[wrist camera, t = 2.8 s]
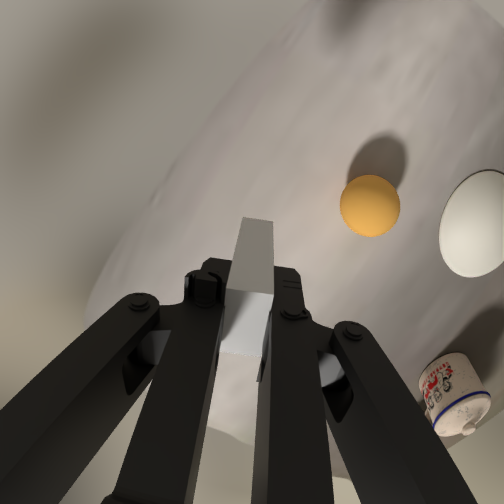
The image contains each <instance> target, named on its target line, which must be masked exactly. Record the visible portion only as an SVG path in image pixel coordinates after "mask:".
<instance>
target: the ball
mask: <svg viewBox="0 0 504 504" xmlns="http://www.w3.org/2000/svg"><path fill="white" fill-rule="evenodd" d="M340 211H341V215H342V217H343V220H344V222H345V223H346V224H347V226H348V227H349V228H350V229H351V230H353V231H354V232H356V233H357V234H360V235H362V236H367V237H374V236H379V235H382V234H384V233H386V232H387V231H389V230H390V229H391V228H392V227H393V226H394V224H395V223H396V221H397V219H398V216H399V213H400V200H399V196H398V194H397V192H396V190H395V188H394V187H393V186H392V185H391V184H390V183H389V182H388V181H387V180H385V179H384V178H381V177H379V176H376V175H363V176H359V177H357V178H355V179H353V180H352V181H351V182H350V183H349V184H348V185H347V186H346V187H345V189H344V190H343V193H342V195H341V199H340Z"/></svg>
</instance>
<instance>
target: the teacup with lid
mask: <svg viewBox="0 0 504 504" xmlns="http://www.w3.org/2000/svg"><path fill="white" fill-rule="evenodd" d="M419 388H420V390H421V393H422V395H423V398H424V401H425V403H426V406H427V409H426V411H425V416H426V417H427V419H428V420H429V422H430V424H431V419H432V422H433V428H434V430H435V432H436V433H437V434H438V435H440V436H452V435H456V434H459V433H463V435H469V434H471V433H472V432H474V431H475V429H476V424H477V422H478V421H480V420H481V419H482V418H483V417H484V415H485V414H486V413H487V411H488V410H489V408H490V405H491V396H490V394H489V393H488V392H486V390H485V388H484V386H483V385H482V383H481V381H480V379H479V377H478V375H477V374H476V372H475V370H474V368H473V367H472V365H471V363H470V361H469V360H468V358H467V357H466V356H465V355H464V354H462V353H450V354H447V355H444V356H442V357H440V358H438V359H437V360H435V361H434V362H432V363H431V364H430V365H429V366H428V367H427V368H426V369H425V370H424V372H423V373H422V375H421V377H420V380H419Z"/></svg>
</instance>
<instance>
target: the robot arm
mask: <svg viewBox="0 0 504 504" xmlns="http://www.w3.org/2000/svg"><path fill="white" fill-rule="evenodd" d="M219 351H220V352H226V353H233V354H240V355H247V356H255V357H261V354H262V359H261V363H260V368H259V372H258V377H257V381H256V382H259V386H258V403H257V420H256V436H255V452H254V466H253V481H252V496H251V504H334V494H333V483H332V472H331V462H330V452H329V443H328V434H327V425H326V420H327V422H328V425H329V427H330V430H331V432H332V434H333V437H334V439H335V442H336V444H337V446H338V449H339V451H340V454H341V456H342V458H343V461H344V463H345V466H346V468H347V470H348V473H349V475H350V478H351V480H352V483H353V485H354V487H355V490H356V492H357V495H358V497H359V499H360V502H361V504H478V503H477V502H476V500H475V498H474V496H473V494H472V492H471V491H470V489H469V487H468V485H467V484H466V482H465V480H464V479H463V477H462V475H461V473H460V472H459V470H458V468H457V466H456V465H455V463H454V461H453V460H452V458H451V456H450V455H449V453H448V451H447V450H446V448H445V446H444V445H443V443H442V441H441V440H440V438H439V436H438V435H437V433H436V432H435V430H434V428H433V427H432V425H431V424H430V422H429V420H428V419H427V417H426V416H425V414H424V412H423V411H422V409H421V408H420V406H419V405H418V403H417V401H416V400H415V398H414V397H413V395H412V394H411V392H410V391H409V389H408V388H407V386H406V384H405V383H404V381H403V380H402V378H401V377H400V375H399V374H398V372H397V371H396V369H395V368H394V366H393V365H392V363H391V362H390V360H389V359H388V357H387V356H386V354H385V353H384V351H383V350H382V348H381V347H380V346H379V344H378V343H377V341H376V340H375V338H374V337H373V335H372V334H371V332H370V331H369V330H368V329H367V328H366V327H364V326H363V325H361V324H359V323H356V322H353V321H342V322H339V323H337V324H336V325H335V327H334V329H331V328H328V327H325V326H322V325H320V324H317V323H316V322H314V321H313V320H312V316H311V314H310V312H309V311H308V310H307V309H306V308H305V305H304V298H303V291H302V284H301V277H300V275H299V274H298V272H297V271H296V270H295V269H293V268H286V267H279V266H274V249H273V221H266V220H259V219H252V218H246V217H243V218H242V223H241V227H240V231H239V235H238V239H237V243H236V248H235V252H234V256H233V260H232V261H231V260H224V259H217V258H211V257H210V258H209V259H208V260H206V261H205V262H203V264H202V267H201V269H200V270H194V271H191V272H189V273H188V274H187V275H186V276H185V284H184V300H183V302H182V303H179V304H175V305H159V301H158V300H157V298H156V297H154V296H152V295H150V294H147V293H133V294H129V295H127V296H125V297H123V298H122V299H121V300H120V301H118V302H117V303H116V304H115V305H114V306H113V307H112V308H110V309H109V310H108V311H107V312H106V313H105V314H104V315H102V316H101V317H100V318H99V319H98V320H97V321H96V322H94V323H93V324H92V325H91V326H90V327H89V328H88V329H87V330H85V331H84V332H83V333H82V334H81V335H80V336H79V337H78V338H76V339H75V340H74V341H73V342H72V343H71V344H70V345H69V346H68V347H67V348H65V349H64V350H63V351H62V352H61V353H60V354H59V355H58V356H57V357H56V358H55V359H54V360H52V361H51V362H50V363H49V364H48V365H47V366H46V367H45V368H44V369H43V370H42V371H41V372H40V373H39V374H37V375H36V376H35V377H34V378H33V379H32V380H31V381H30V382H29V383H28V384H27V385H26V386H25V387H24V388H23V389H22V390H21V391H20V392H19V393H18V394H17V395H15V397H13V398H12V399H11V400H10V401H9V402H8V403H7V404H6V405H5V406H4V407H3V409H1V410H0V504H58V503H59V502H60V501H61V500H62V498H63V497H64V496H65V494H66V493H67V492H68V490H69V489H70V488H71V486H72V485H73V484H74V482H75V481H76V480H77V478H78V477H79V476H80V474H81V473H82V471H83V470H84V469H85V468H86V466H87V465H88V464H89V462H90V461H91V460H92V458H93V457H94V456H95V454H96V453H97V452H98V450H99V449H100V447H101V446H102V445H103V444H104V442H105V441H106V440H107V439H108V437H109V436H110V435H111V433H112V432H113V431H114V429H115V428H116V427H117V425H118V424H119V423H120V421H121V420H122V419H123V417H124V416H125V415H126V413H127V412H128V411H129V409H130V408H131V407H132V405H133V404H134V403H135V401H136V400H137V399H138V398H139V396H140V395H141V394H142V392H143V391H144V390H145V388H146V387H147V386H148V384H149V383H150V382H151V380H152V379H153V380H152V382H151V385H150V388H149V390H148V393H147V396H146V399H145V401H144V404H143V407H142V410H141V413H140V415H139V418H138V421H137V424H136V427H135V430H134V432H133V435H132V438H131V441H130V444H129V447H128V450H127V453H126V456H125V459H124V462H123V465H122V468H121V471H120V474H119V477H118V480H117V483H116V486H115V488H114V491H113V492H112V494H110V495H108V496H106V497H105V498H104V499H103V501H102V503H101V504H193V499H194V493H195V487H196V482H197V476H198V470H199V465H200V459H201V453H202V448H203V442H204V437H205V431H206V425H207V420H208V415H209V409H210V404H211V398H212V393H213V387H214V382H215V377H216V371H217V366H218V359H219Z"/></svg>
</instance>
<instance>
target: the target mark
mask: <svg viewBox="0 0 504 504" xmlns="http://www.w3.org/2000/svg"><path fill="white" fill-rule="evenodd" d="M439 245H440V251H441V254H442V257H443V259H444V261H445V262H446V264H447V265H448V267H449V268H450V269H451V270H452V271H454V272H455V273H457V274H459V275H461V276H465V277H478V276H482V275H485V274H487V273H489V272H491V271H492V270H494V269H495V268H497V267H498V266H499V265H500V264H501V263H502V262H503V261H504V175H502V174H501V173H498V172H495V171H483V172H479V173H476V174H474V175H472V176H470V177H469V178H467V179H466V180H465V181H463V182H462V183H461V184H460V185H459V186H458V187H457V188H456V190H455V191H454V192H453V194H452V195H451V197H450V198H449V200H448V202H447V204H446V206H445V209H444V211H443V214H442V218H441V222H440V228H439Z"/></svg>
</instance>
